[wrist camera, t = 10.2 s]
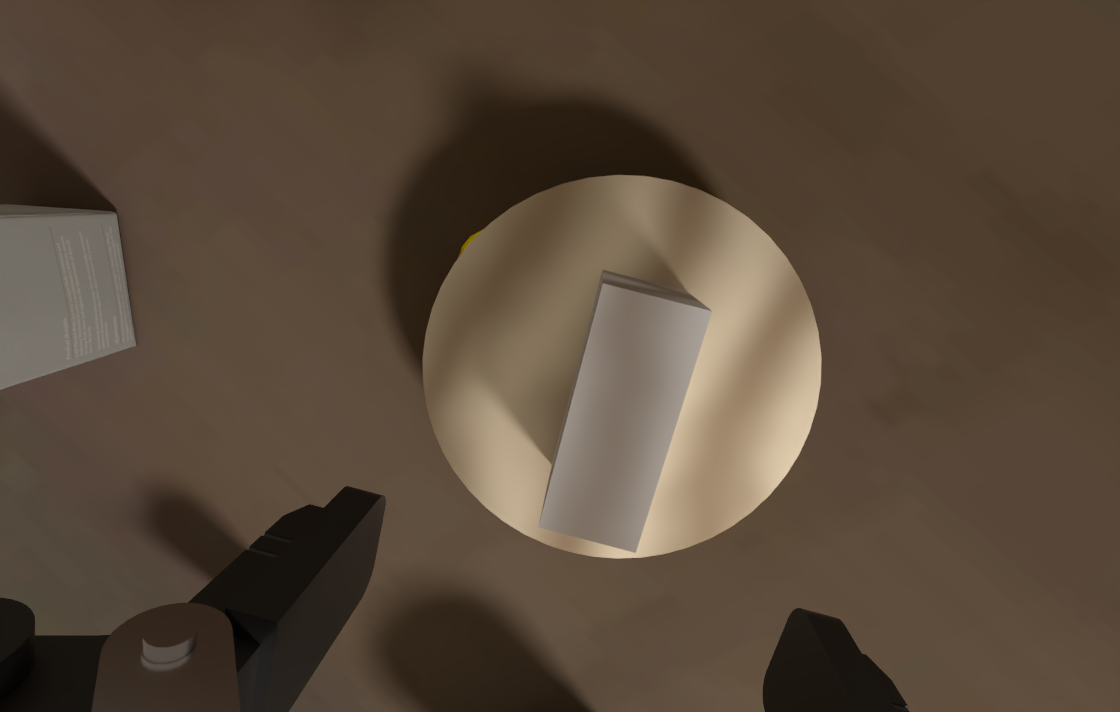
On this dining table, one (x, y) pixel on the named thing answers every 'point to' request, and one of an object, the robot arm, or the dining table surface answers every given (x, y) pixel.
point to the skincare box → (60, 290)
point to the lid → (621, 366)
